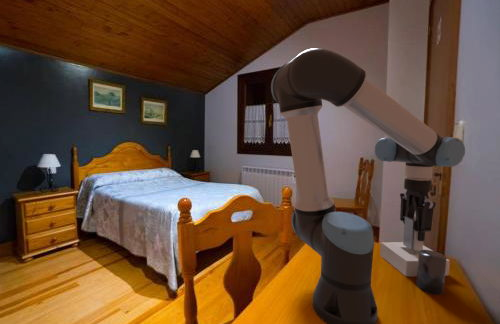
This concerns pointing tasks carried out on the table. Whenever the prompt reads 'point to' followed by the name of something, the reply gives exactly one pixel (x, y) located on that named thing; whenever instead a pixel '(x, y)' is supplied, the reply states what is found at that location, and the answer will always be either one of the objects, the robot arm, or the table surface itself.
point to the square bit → (409, 232)
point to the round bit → (431, 272)
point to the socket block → (404, 257)
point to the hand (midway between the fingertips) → (412, 246)
